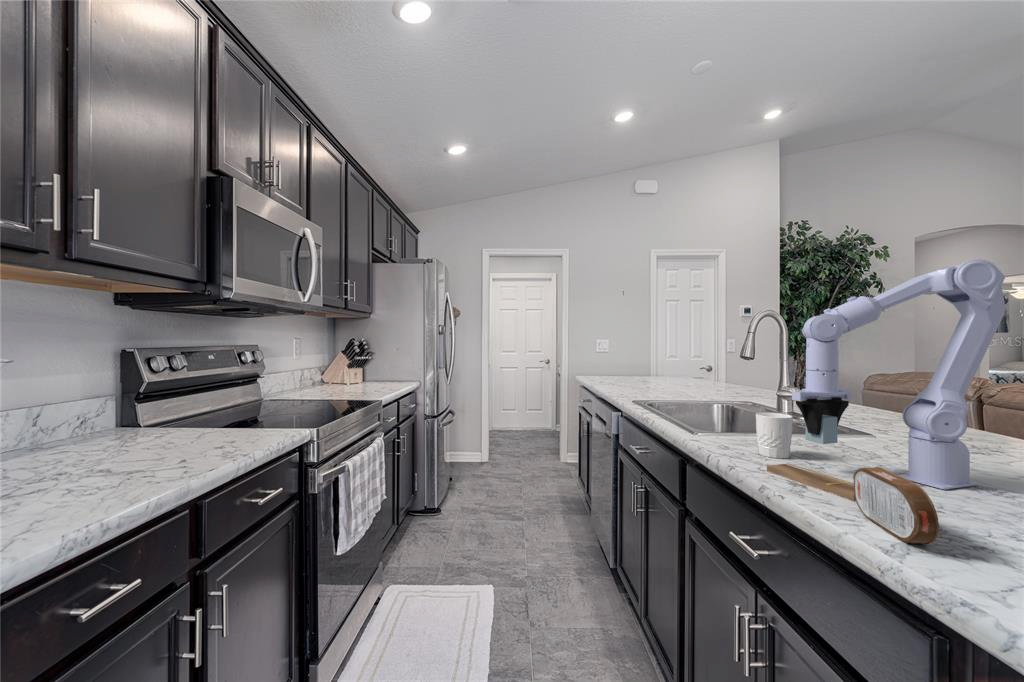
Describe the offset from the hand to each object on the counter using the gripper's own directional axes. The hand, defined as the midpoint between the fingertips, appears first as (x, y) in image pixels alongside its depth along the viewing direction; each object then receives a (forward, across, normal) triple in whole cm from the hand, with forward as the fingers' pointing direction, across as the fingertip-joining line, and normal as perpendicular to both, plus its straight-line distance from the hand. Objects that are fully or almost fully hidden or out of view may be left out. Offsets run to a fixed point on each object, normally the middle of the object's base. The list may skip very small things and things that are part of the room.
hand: (821, 433), depth 92 cm
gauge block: (+2, 0, 0) cm, 2 cm away
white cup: (+9, -2, -14) cm, 16 cm away
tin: (+9, +18, +24) cm, 31 cm away
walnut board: (+8, +8, +5) cm, 13 cm away
